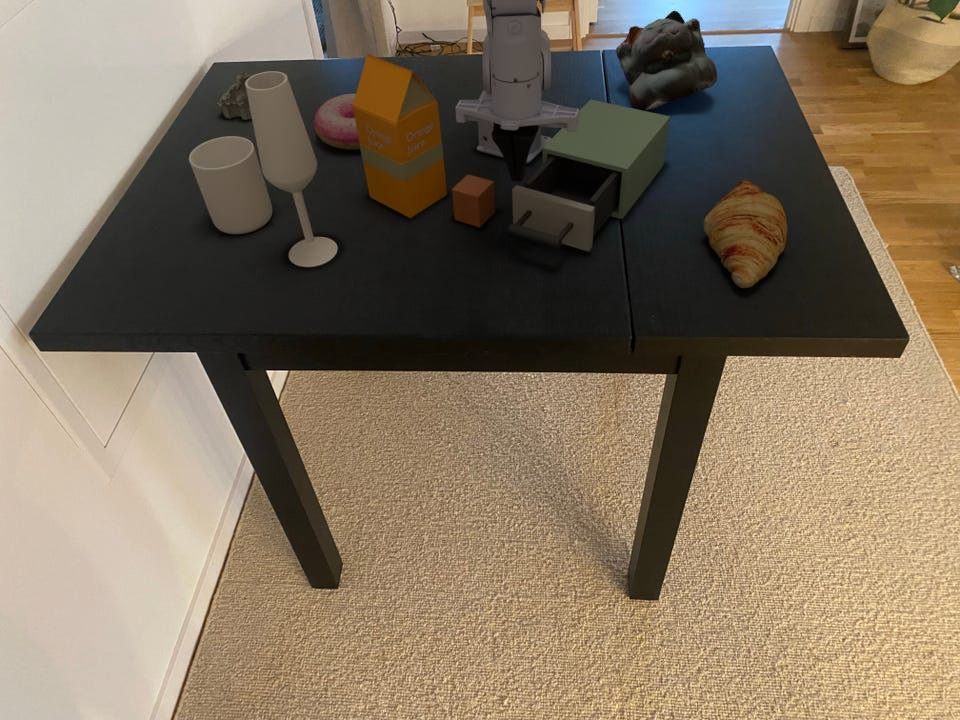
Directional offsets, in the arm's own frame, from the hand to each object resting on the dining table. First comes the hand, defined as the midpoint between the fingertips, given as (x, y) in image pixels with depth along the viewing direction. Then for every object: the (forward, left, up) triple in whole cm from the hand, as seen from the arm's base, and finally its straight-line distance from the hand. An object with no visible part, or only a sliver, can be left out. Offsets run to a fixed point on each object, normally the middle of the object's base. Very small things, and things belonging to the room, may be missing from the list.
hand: (518, 176), depth 92 cm
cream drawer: (+5, +5, -9) cm, 11 cm away
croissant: (+27, +12, -10) cm, 31 cm away
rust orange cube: (-8, +2, -9) cm, 12 cm away
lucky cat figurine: (+3, +46, -10) cm, 47 cm away
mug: (-38, -12, -10) cm, 42 cm away
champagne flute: (-23, -15, -10) cm, 30 cm away
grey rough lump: (-61, +13, -10) cm, 63 cm away
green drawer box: (+5, +18, -9) cm, 20 cm away
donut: (-37, +13, -10) cm, 41 cm away
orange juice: (-19, +2, -10) cm, 22 cm away
